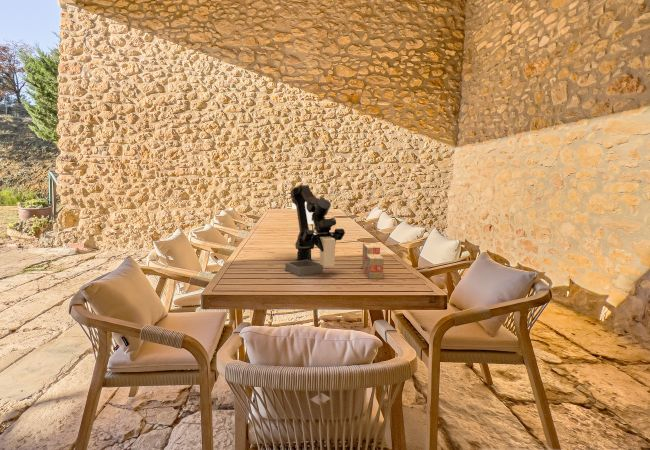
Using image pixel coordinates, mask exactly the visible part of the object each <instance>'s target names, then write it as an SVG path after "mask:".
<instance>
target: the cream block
mask: <svg viewBox="0 0 650 450" xmlns="http://www.w3.org/2000/svg"><path fill="white" fill-rule="evenodd" d="M320 240H321V243H322V246H323V249H324V251H323V252H322V251H321V250H320V249H319V264H321V265H322V266H323V268H324V267H334V266H335V263H336V261H335V260H336V242H335V239H334V238H332V237H320Z"/></svg>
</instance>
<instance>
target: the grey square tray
mask: <svg viewBox="0 0 650 450" xmlns="http://www.w3.org/2000/svg"><path fill="white" fill-rule="evenodd" d="M284 264H285V271H287V272H289V273H292V274H294V275H295V276H296V275H297V276H298V277H303V276H309V275H313V274H315V275H316V274H319V273H320V274H321V273H324V266H322V265H321V264H320V262H319V263H318V262H316V261H314V260H312V261H311V260H308V259H307V260H300V261H299V260H296V261H295V260H294V261H290V262H289V261H288V262H285V263H284Z"/></svg>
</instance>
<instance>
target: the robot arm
mask: <svg viewBox="0 0 650 450" xmlns="http://www.w3.org/2000/svg"><path fill="white" fill-rule="evenodd" d="M290 197H291V201H292V203H293V204H294V205H295V206H296V214H297V221H298V227H299V232H298V235H297V239H296V241H295V249H296V250H297V253H296V254H297V255H296V256H297V257H296V259H295V260H296V261H300V260H307V259H308V260H311V261H314V259H312V250H315V249H314V248H315V246H316V247H317V248H318V249H319V251H320V250H321V251H322V252H323V251H324V249H323V246H322V243H321V240H320V238H322V237H332V238H334V239H335V243H336V242H337V241H342V239H343V238H344V236H345V234H346V231H345V229H343V228H335V229H334V231H331V230H332V227H333V226H336V225H337V220H336V218H335V217H331V218H326V216H327V215H328V213H329V210H330V208H331V202H330V201H329V200H327V199H326V198H325V197H320V198H319V197H316V196H315V195H314V193H313V192H312V191H311V189H310V186H309V185H307V184H305V185H303V184H300V185H298V186H297V187H295V188H293V189H291V191H290ZM307 212H308V213H310V214H311V221H312V222H313V225H314V227H313V229H309V223H308V221H309V220H308V214H307Z"/></svg>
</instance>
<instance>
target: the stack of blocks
mask: <svg viewBox="0 0 650 450" xmlns="http://www.w3.org/2000/svg"><path fill="white" fill-rule="evenodd" d="M380 251H381V247H380V246H379V245H378V244H377V243H376V242H363V243H362V260H361V263H362V265H361V266H362V268H363V271H364V273H366V276H367V277H368V279H375V280H376V279H378V280H379V279H383V276H384V275H383V274H384V262H385V261H384V257H383V256H382V255H381V252H380Z"/></svg>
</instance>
